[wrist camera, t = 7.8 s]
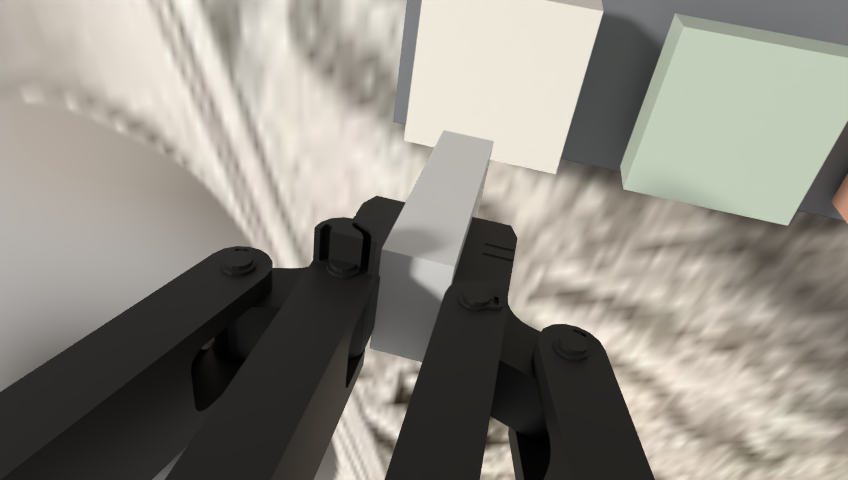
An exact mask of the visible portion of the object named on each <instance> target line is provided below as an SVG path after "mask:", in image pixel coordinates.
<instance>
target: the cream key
mask: <svg viewBox="0 0 848 480" xmlns="http://www.w3.org/2000/svg"><path fill="white" fill-rule="evenodd" d="M602 15H603V6H602V0H422V3H421V11H420V19H419V27H418V34H417V42H416V50H415V58H414V66H413V74H412V81H411V89H410V97H409V105H408V113H407V120H406V128H405V136H404V141H408V142H412V143H417V144H421V145H426V146H430V147H435V146H436V144H437V142H438V140H439V138H440V136H441V134H442V132H443V130H445V131H450V132H455V133H459V134H464V135H468V136H473V137H477V138H482V139H487V140H491V141H494V143H493V148H492V152H491V157H490V160H494V161H498V162H503V163H507V164H512V165H516V166H521V167H525V168H530V169H534V170H539V171H543V172H548V173H552V174H556V171H557V168H558V165H559V161H560V158H561V154H562V151H563V147H564V144H565V141H566V137H567V134H568V130H569V127H570V124H571V120H572V117H573V113H574V110H575V107H576V103H577V100H578V96H579V93H580V90H581V86H582V83H583V79H584V76H585V73H586V69H587V66H588V62H589V59H590V56H591V52H592V49H593V45H594V42H595V38H596V35H597V32H598V28H599V25H600V21H601V18H602Z"/></svg>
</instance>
